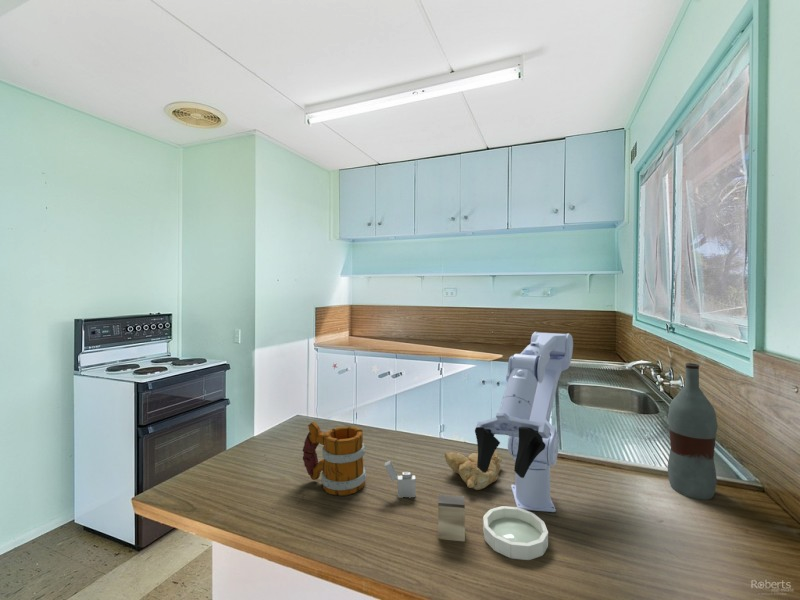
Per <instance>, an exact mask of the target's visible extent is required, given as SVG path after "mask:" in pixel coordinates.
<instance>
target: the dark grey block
mask: <svg viewBox="0 0 800 600" xmlns="http://www.w3.org/2000/svg"><path fill="white" fill-rule="evenodd" d="M437 501H438V502H437V503H438V505H437V506H438V507H437V513H438V514H437V515H438V520H437V521H438V523H437V524H438V526H437V527H438V528H437V529H438V530H437V532H438V533H437V534H438V536H437V537H438V539H439V540H445V541H455V542H465V541H466V537H465V536H466V531H465V529H466V527H465V526H466V524H465V523H466V521H465V520H466V519H465V518H466V517H465V516H466V514H465V513H466V511H465V510H466V509H465V505H466V503H465V495H454V494H443V493H442V494H441V493H438V500H437Z"/></svg>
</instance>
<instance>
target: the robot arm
mask: <svg viewBox="0 0 800 600" xmlns="http://www.w3.org/2000/svg"><path fill="white" fill-rule="evenodd" d="M530 337H531V338H530V344H528V345H527V346H526V347H525V348H524V349H523V350H522V351H521V352H520V353H514V354H513V355H511V356H510V357H509V359H508V364H507V373H506V379H505V381H506V385H505V390H504V392H503V396H502V399H501V403H500V406H499V410H498V412H497V413H496V414H495V417H492V418H489V419H486V420H482V421H477V423H476V426H475V429H474V433H475V437H476V438H475V439H476V444H477V445H476V446H477V453H478V462H477V467H478V468H479V469H480V470H481V471H482V472H484V473H486V472H487V470H488V468H489V465H490V461H491V458H492V456H493V453H494V451H496V450H497V448H498V447H499V446H500V445H501V442H500V441H499V440H498V438H496V437H495V435H502V436H507V437H508V438H507V450H508V453H509V455H510V456H511V457H513V462H514V471H513V472H514V474H515V475H514V479H515V484H510V488H511V492H512V494H513V499H514V502H515V507H518V508H521V509H524V510H526V511H537V512H548V513H550V512H551V513H555V512H557V511H556V506H555V505H554V501H552V498H551V467H554V465H556V463H557V460H558V454H559V439H560V438H559V434H558V431H557V428H556V427H554V426H553V425H552V424H551V422H550V419H551V416H552V415H551V414H552V411H553V406H554V402H555V398H556V393H557V388H558V383H559V380H560V377H561V374H562V372H564V371H565V370H568V369H569V368H570V365H571V363H572V358H573V351H574V339H573V336H572V335H571V333H569V332H568V333H556V332H555V333H553V332H551V333H550V332H538V331H534V332H533V333H532V334H531V336H530Z"/></svg>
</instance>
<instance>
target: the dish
mask: <svg viewBox="0 0 800 600" xmlns="http://www.w3.org/2000/svg"><path fill="white" fill-rule="evenodd" d="M482 531H483V540H484V541H485V542H486V543H487V544H488V545H489V547H490V548H491V549H492V550H493V551H494V552H496V553H498V554H501V555H502V556H505V557H507V558H509V559H513V560H514V559H515V560H523V561H531V560H533V559H536V558H537V559H538V558H540V557H542V556H543V555H544V554H545V553H546V551H547V549H548V547H549V530H548V529H547V526H546V523H545V521H544V520H542V519H541V518H540V517H539V516H538V515H536V514H535V512H531V511H530V510H524V509H521V508H518V507H517V506H506V505H502V506H497V507H494V508H490V509H489V510H488V511H487V512H486V513H485V514H484V515H483V517H482Z"/></svg>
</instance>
